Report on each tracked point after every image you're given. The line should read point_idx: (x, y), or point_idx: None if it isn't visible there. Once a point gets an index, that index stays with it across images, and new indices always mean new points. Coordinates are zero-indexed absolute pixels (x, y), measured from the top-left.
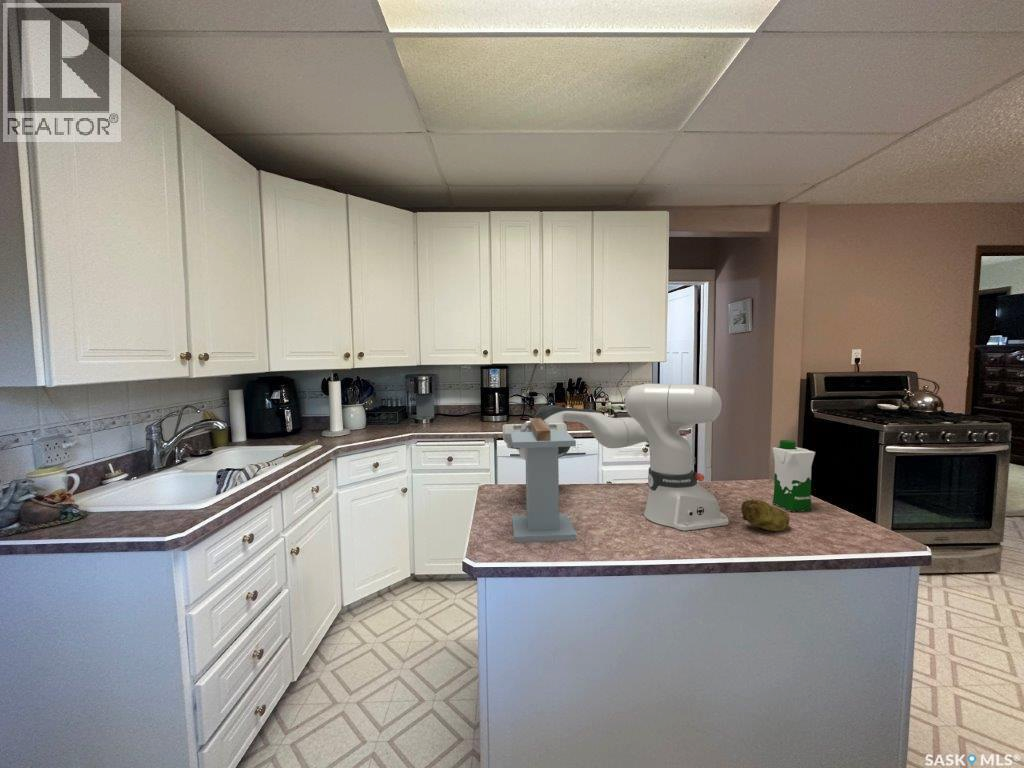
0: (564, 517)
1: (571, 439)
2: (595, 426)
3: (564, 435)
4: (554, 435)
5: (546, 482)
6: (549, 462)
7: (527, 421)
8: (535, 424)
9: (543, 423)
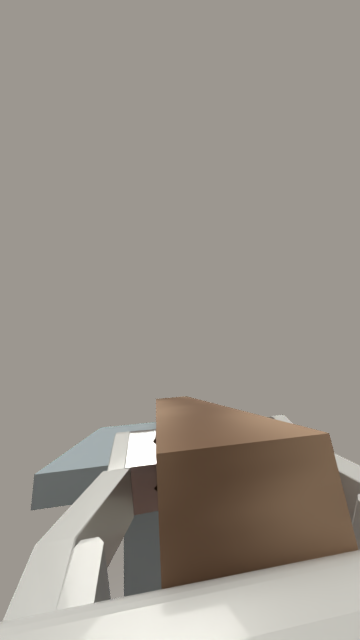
0: None
1: (105, 429)
2: None
3: (101, 439)
4: None
5: None
6: None
7: (268, 417)
8: (195, 402)
9: (161, 406)
